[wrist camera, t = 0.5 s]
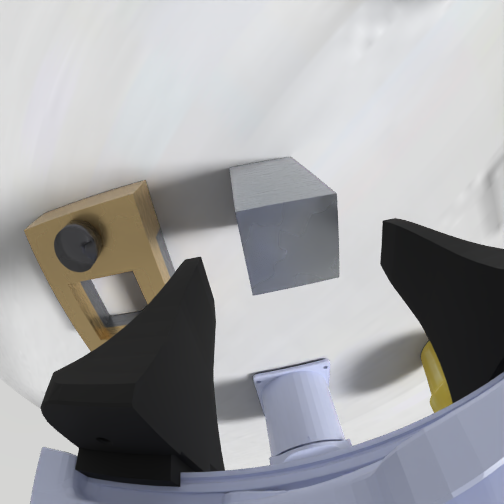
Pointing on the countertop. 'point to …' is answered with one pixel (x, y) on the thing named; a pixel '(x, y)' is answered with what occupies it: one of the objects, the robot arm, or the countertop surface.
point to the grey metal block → (285, 224)
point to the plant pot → (435, 379)
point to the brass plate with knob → (100, 255)
